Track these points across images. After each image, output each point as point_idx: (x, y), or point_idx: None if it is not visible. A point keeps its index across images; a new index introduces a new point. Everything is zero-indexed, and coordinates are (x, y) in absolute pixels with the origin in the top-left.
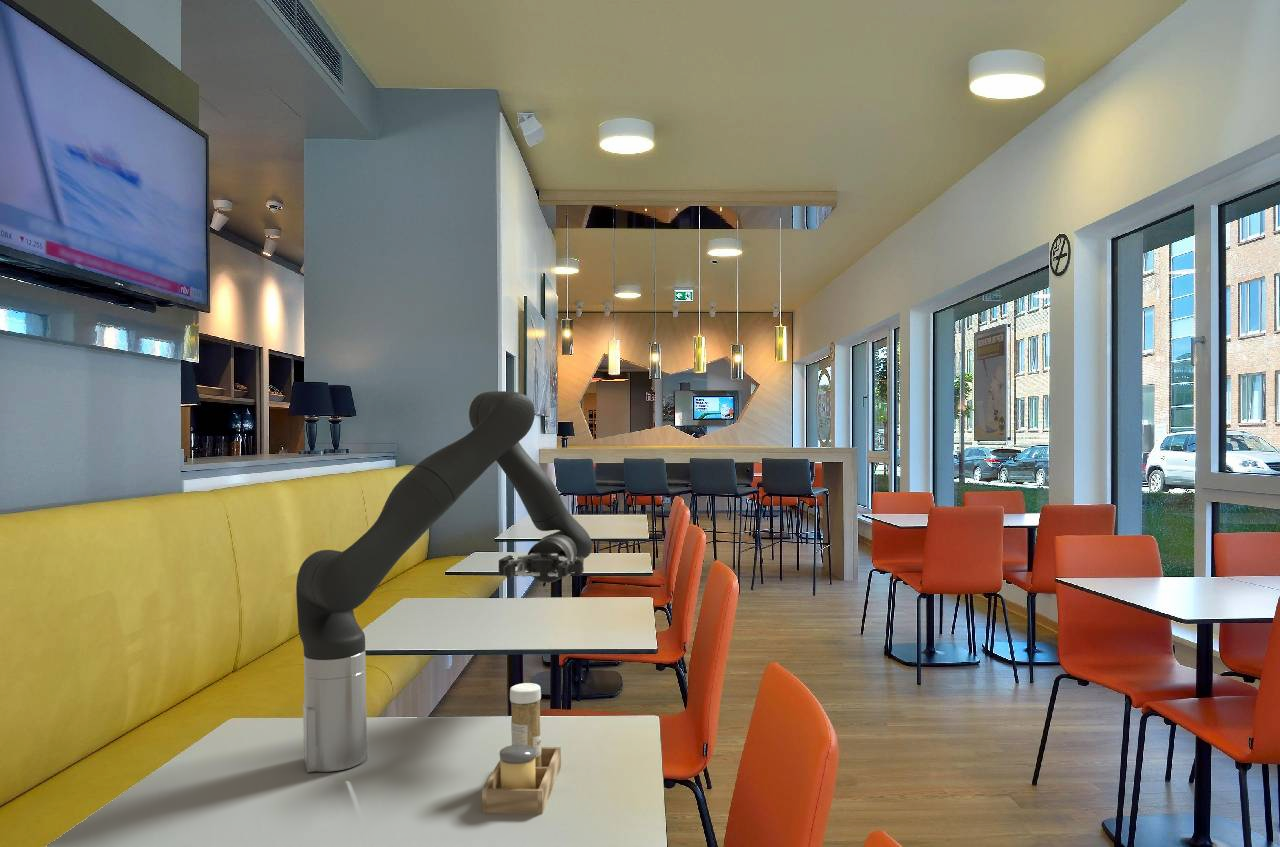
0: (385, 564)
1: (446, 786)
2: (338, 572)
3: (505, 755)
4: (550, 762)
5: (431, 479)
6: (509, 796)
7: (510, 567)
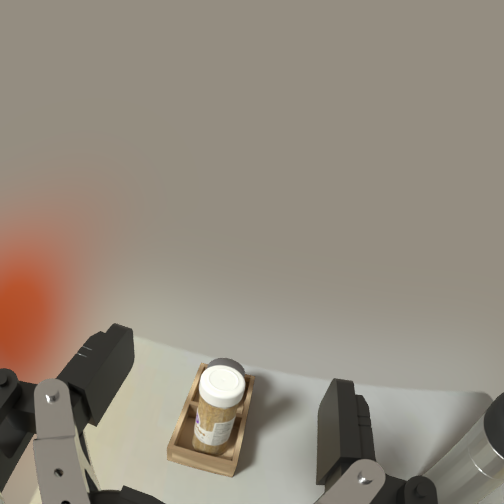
0: None
1: (296, 450)
2: None
3: (238, 365)
4: (185, 412)
5: None
6: None
7: (333, 380)
